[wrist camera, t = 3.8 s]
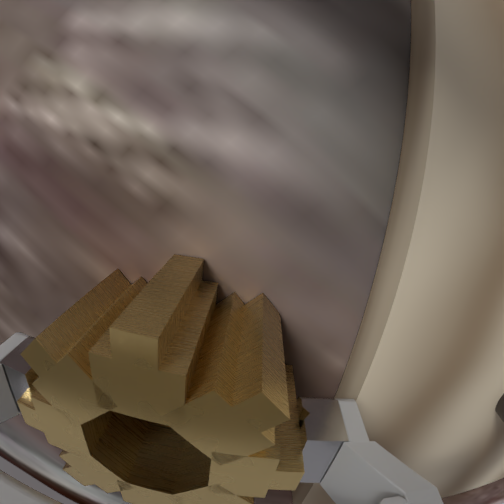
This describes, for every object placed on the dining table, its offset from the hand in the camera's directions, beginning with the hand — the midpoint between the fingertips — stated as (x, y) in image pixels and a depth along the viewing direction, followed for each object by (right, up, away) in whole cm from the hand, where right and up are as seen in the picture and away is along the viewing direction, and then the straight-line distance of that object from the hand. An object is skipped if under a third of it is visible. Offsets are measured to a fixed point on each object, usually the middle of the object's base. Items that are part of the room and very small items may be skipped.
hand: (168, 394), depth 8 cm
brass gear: (0, 0, +2) cm, 2 cm away
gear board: (+15, +3, 0) cm, 15 cm away
